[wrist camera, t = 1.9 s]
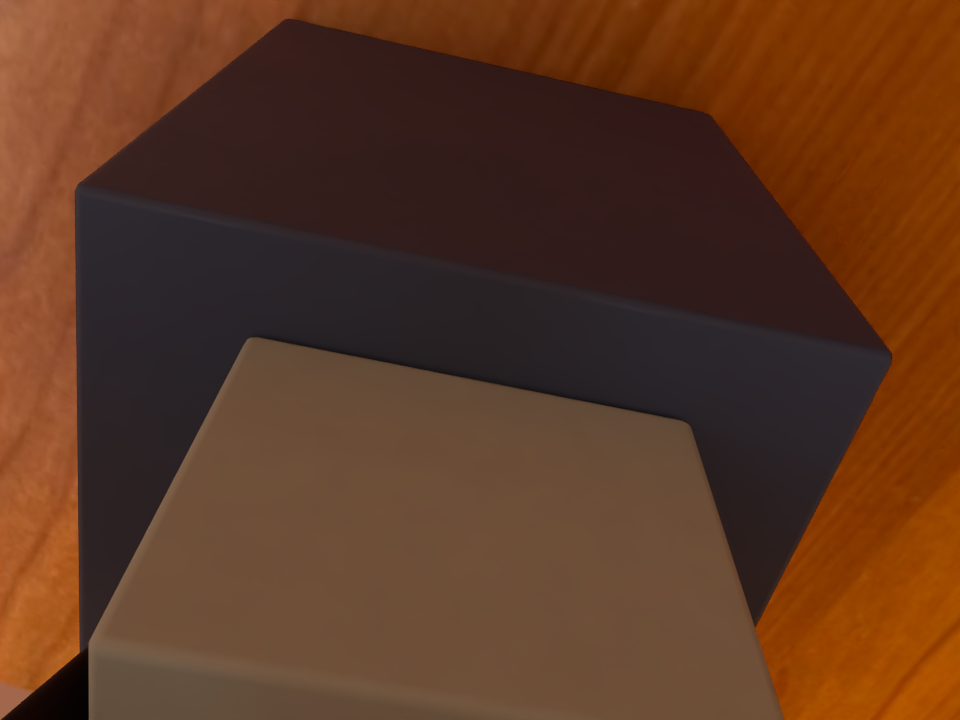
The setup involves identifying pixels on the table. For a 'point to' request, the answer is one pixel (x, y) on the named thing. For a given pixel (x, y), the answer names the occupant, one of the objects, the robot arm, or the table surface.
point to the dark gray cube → (455, 275)
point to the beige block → (427, 560)
